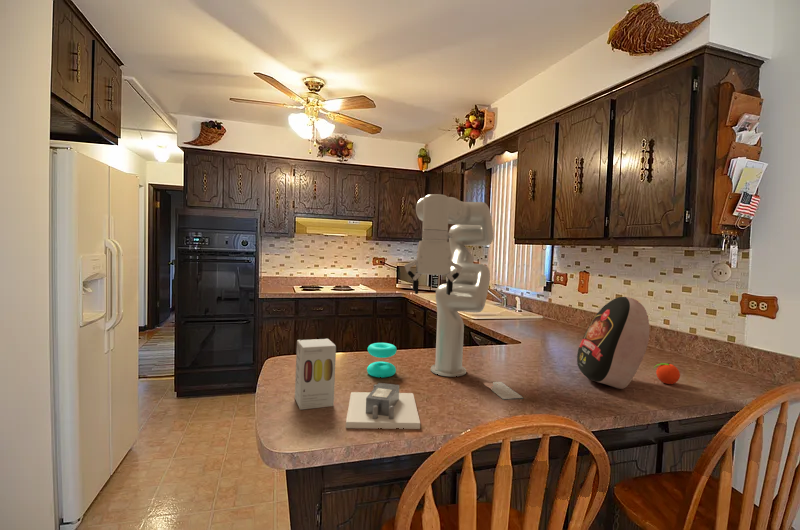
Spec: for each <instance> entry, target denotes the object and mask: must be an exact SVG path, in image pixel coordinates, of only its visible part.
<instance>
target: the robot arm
mask: <svg viewBox="0 0 800 530" xmlns="http://www.w3.org/2000/svg"><path fill="white" fill-rule="evenodd" d="M415 214H416V216H417V218H418V219H419V221H421V222H422V232H421V236H422V237H421V240H419V241H418V245H417V250H416V251H417V252H416V259H414V260H413V261H410V262H409V263H406V264H404V268H405V271H406V273H407V275H408V276H409V277H410V278H411V279H412V292H414V294H415V295H418V294H419V280H418V279H419V278H420V277H421V275H432V276H445V280H446V283H442V284H439V286H437V288H436V290H435V302H436V303H435V304H436V315H437V316H436V337H435V339H436V343H435V363H434V364H432V365H431V366H430V372H432V374H435V375H437V374H438V376H441V377H448V378H452V377H453V378H454V377H456V376H457V377H462V376H465V375H466V374H467V369H466V368H465V367H464V366H463V354H464V352H463V350H464V330H465V328H464V327H465V325H464V324H465V323H464V320H463V318H462V316H461V315H460V313H459V312H464V313H465V312H466V313H476V314H477V313H481V312H482V311H484V309H485V306H486V301H487V297H488V292H489V288H490V287H489V286H490V284H491V283H490V281H491V272H490V271H491V270H490V269H489V267H488V265H485V264H482V263H474V261H475V260H474V258H475V257H474V255H473V254H472V253H471V251H470V250H469V249H468V248H467V247H466V246H470V247H471V246H473V247H474V246H478V247H479V246H481V247H486V246H489V245H491V244H492V242H493V240H494V227H493V221H492V212H491V210H490V207H489V206H488V204H487V203H486V202H484V201H461V200H460V199H458V198H457V197H452V196H447V195H446V194H440V193H438V194H436V193H434V194H433V193H432V194H427V195H425V196H424V197H421V198H420V199H419V200H418V201H417V203H416V205H415ZM449 225H451V227H450V228H449ZM413 266H415V271H416V272H415V273H413V271H412V270H411V268H412V267H413Z"/></svg>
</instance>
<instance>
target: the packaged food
mask: <svg viewBox="0 0 800 530" xmlns="http://www.w3.org/2000/svg"><path fill="white" fill-rule="evenodd" d="M650 330H651V329H650V321H649V316H648V312H647V310H646V308H645V306H644V305H643V304H642V303H641V302H639V301H638V300H637V299H635V298H632V297H629V296H620V297H619V296H618V297H616V298H614V299H612V300H610V301H609V302H607V303H606V304H605V305H603V306H602V307H601V308H600V309H599V310H598V311H597V313H596V314H595V316H594V317H593V319H592V320H591V322H590V324H589V325H588V328H587V329H586V331H585V333H584V335H583V337H582V339H581V342H580V343H579V347H578V349H577V356H576V362H577V367H578V369H579V370H580V372H581V373H582V374H583V376H585V378H587V379H588V380H591V381H592V382H597V383H600V384H603V385H607V386H610V387H611V388H616V389H621V390H622V389H625V388H627V387H628V386H629V385H630V384H631V382H632V380H633V378H634V377H635V375H636V373H637V371H638V370H639V368H640V365H641V364H642V361H643V360H644V359H643V358H644V357H645V354H646V351H647V349H648V344H649V339H650V332H651V331H650Z"/></svg>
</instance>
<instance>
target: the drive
mask: <svg viewBox="0 0 800 530" xmlns="http://www.w3.org/2000/svg"><path fill="white" fill-rule="evenodd" d="M370 392H371V393H370V394H369V395H368V396H367V398H366V413H367V414H373V406H374V405H377V406H378V415H383V416H389V406H395V405H396V403H397V401H398V400H399V393H400V384H393V383H386V382H385V383H384V382H377V383H376V387H375V388H374V389H373V388H372V390H371V391H370Z"/></svg>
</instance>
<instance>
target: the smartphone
mask: <svg viewBox="0 0 800 530" xmlns="http://www.w3.org/2000/svg"><path fill="white" fill-rule="evenodd" d="M492 382H493V385H494V386H492V387H493V388H492V387H491V388H492V389H491V390H492V391H491V392H492V393H494V394H495V393H496V394H497V395H496V394H495V395H496V396H498V398H500V399H501V398H502V399H501V400H504V401H507V400H524V396H522V395H521V394H519V393H518V392H516V391H515V390H514V389H512V388H511V387H509V386H508V385H506V384H505V383H504V382H502V381H492ZM497 384H498V385H497Z"/></svg>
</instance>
